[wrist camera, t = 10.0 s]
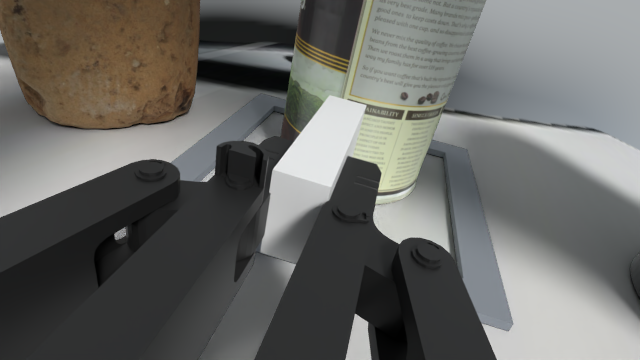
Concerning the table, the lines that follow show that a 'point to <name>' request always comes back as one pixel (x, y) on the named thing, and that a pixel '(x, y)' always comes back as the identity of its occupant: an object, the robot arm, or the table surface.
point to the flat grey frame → (462, 192)
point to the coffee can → (381, 75)
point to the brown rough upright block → (104, 58)
